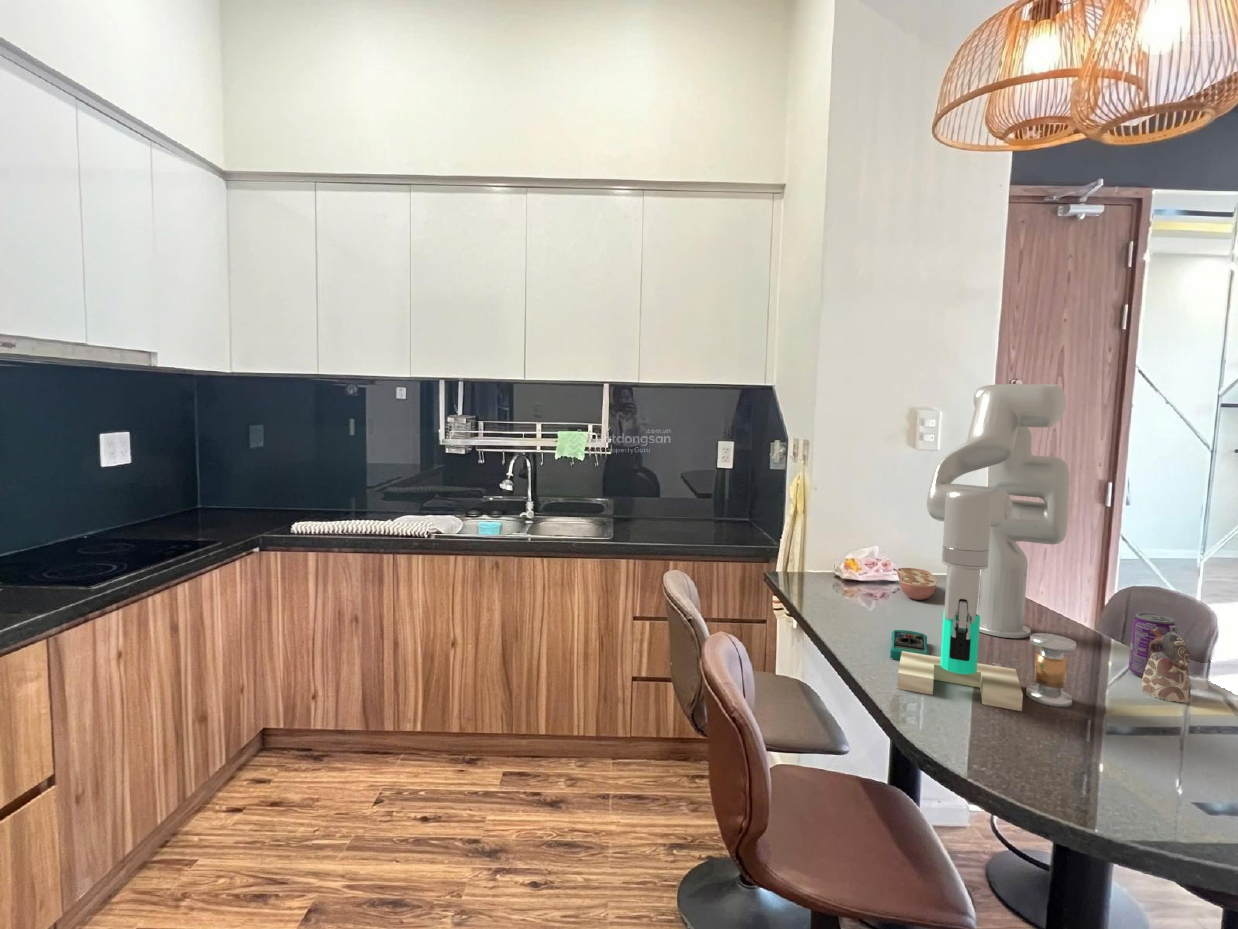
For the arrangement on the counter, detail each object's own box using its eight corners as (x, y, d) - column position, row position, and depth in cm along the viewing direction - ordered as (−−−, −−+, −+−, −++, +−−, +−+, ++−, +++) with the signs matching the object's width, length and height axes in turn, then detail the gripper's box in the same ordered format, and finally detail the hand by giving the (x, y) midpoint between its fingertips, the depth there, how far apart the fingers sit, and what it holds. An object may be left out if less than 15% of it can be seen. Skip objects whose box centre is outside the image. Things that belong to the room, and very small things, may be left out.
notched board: (901, 665, 136) (901, 651, 136) (1014, 684, 127) (1015, 669, 127) (897, 688, 124) (897, 672, 124) (1021, 711, 115) (1022, 694, 115)
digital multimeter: (926, 644, 150) (927, 632, 150) (928, 667, 136) (929, 653, 136) (891, 640, 153) (891, 627, 153) (889, 661, 139) (890, 647, 139)
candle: (975, 677, 119) (979, 611, 118) (938, 669, 122) (942, 605, 121) (977, 666, 124) (981, 603, 123) (942, 659, 127) (945, 598, 126)
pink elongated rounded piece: (895, 582, 205) (896, 566, 205) (930, 586, 202) (931, 569, 202) (900, 601, 184) (901, 584, 183) (940, 606, 181) (941, 587, 180)
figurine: (1176, 705, 119) (1182, 640, 118) (1132, 690, 126) (1137, 628, 125) (1199, 699, 122) (1204, 635, 121) (1155, 684, 129) (1160, 623, 128)
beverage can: (1163, 672, 135) (1168, 614, 134) (1180, 685, 128) (1185, 624, 127) (1122, 667, 137) (1126, 610, 136) (1136, 680, 131) (1141, 620, 130)
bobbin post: (1024, 688, 126) (1028, 631, 125) (1068, 695, 122) (1072, 637, 122) (1028, 702, 119) (1032, 642, 118) (1075, 710, 116) (1079, 649, 115)
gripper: (942, 547, 131) (936, 637, 132) (942, 563, 115) (936, 666, 117) (985, 551, 127) (979, 644, 129) (991, 568, 112) (984, 674, 114)
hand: (959, 653), depth 123 cm, fingers closed on candle, 4 cm apart
